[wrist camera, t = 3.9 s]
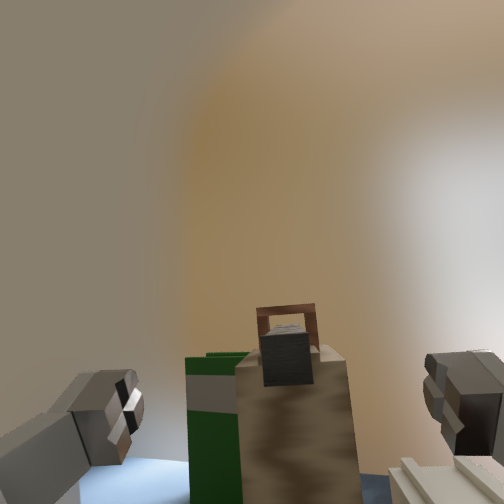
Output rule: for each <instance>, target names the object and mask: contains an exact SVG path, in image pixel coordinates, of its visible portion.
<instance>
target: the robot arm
mask: <svg viewBox="0 0 504 504" xmlns="http://www.w3.org/2000/svg"><path fill="white" fill-rule="evenodd" d="M424 367H425V368H426V370H427V371H428V373H429V375H428V376H427V377H426V378H425V379H424V382H423V392H424V398H425V403H426V405H427V407H428V410H429V412H430V414H431V416H432V418H433V419H435V420H437V421H438V422H440V423H441V434H442V435H443V437H444V439H445V441H446V442H447V444H448V446H449V448H450V449H451V451H452V453H453V455H454V456H492V458H493V459H494V460H496V461H497V462H498V463H500V464H501V465H502V466H504V363H503V362H502V361H501V360H500V359H499V358H498V357H497V356H496V355H495V354H494V353H493V352H492V351H489V350H487V349H484V350H473V351H466V352H451V353H436V354H435V353H434V354H427V356H426V358H425V366H424ZM137 383H138V378H137V375H136V372H135V371H134V370H132V369H131V370H130V369H127V370H100V371H84V372H81V373H79V374H78V375H77V377H76V378H75V379H74V380H73V381H72V382H71V384H70V385H69V386H68V387H67V389H66V390H65V391H64V392H63V393H62V395H61V396H60V397H59V398H58V400H57V401H56V402H55V403H54V405H53V406H52V407H51V408H50V409H49V411H48V412H47V413H41V414H39V415H37V416H36V417H34V418H32V419H31V420H29V421H27V422H26V423H24V424H22V425H21V426H19V427H17V428H16V429H14V430H13V431H11V432H9V433H7V434H6V435H4V436H3V437H1V438H0V504H54V503H55V502H56V501H58V500H59V499H60V498H61V497H62V496H63V495H64V494H65V493H66V492H67V491H68V490H69V489H70V488H71V487H72V486H73V485H74V484H75V483H76V482H77V481H78V480H79V479H80V478H81V477H82V476H83V475H84V474H85V473H86V472H87V471H88V470H89V469H90V467H91V466H108V465H122V463H123V461H124V459H125V457H126V454H127V452H128V450H129V448H130V446H131V444H132V441H131V437H130V435H131V434H133V433H134V432H135V431H136V430H137V429H138V428H139V426H140V423H141V421H142V417H143V412H144V401H143V396H142V393H141V392H139V391H138V390H137V389H136V388H135V387H136V385H137Z"/></svg>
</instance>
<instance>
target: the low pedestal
mask: <svg viewBox="0 0 504 504" xmlns="http://www.w3.org/2000/svg"><path fill="white" fill-rule="evenodd" d="M453 458H454V464H455V466H433V467H419V466H418V465H417V463H416V462H415V461H414V460H413V459H412V458H411V457H410V458H400V460H401V467H402V468H388V472H389V479H390V486H391V494H392V501H393V504H504V483H503V482H501V481H500V480H499V479H498V478H496V477H495V476H494V475H493V474H491V473H490V472H489V471H488V470H486V469H485V468H484V467H483V466H481V465H476V464H474V463H473V462H472V461H471V460H470V459H468V458H467V457H466V456H453Z"/></svg>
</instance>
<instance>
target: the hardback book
mask: <svg viewBox="0 0 504 504" xmlns="http://www.w3.org/2000/svg"><path fill="white" fill-rule="evenodd" d="M249 353H250V352H217V353H206V357H187V358H185V369H186V370H185V371H186V397H187V425H188V454H189V483H190V504H243V491H242V475H241V459H240V444H239V428H238V412H237V396H236V380H235V366H237V365H238V364H239V363H240V362H241V361H242V360H243V359H244V358H245V357H246V356H247V355H248V354H249Z"/></svg>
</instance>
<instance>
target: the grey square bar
mask: <svg viewBox="0 0 504 504" xmlns="http://www.w3.org/2000/svg"><path fill="white" fill-rule="evenodd" d="M260 343H261V356H262V369H263V382H264V387H275V386H292V385H310V384H314V381H313V371H312V362H311V352H310V343H309V333H308V332H305V331H304V330H303V329H302V327H301V326H300V325H299V324H292V325H278V326H276V327H274V328H273V329H272V330H271V331H269V332H268V333H267V334H266V335H261V336H260Z"/></svg>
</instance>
